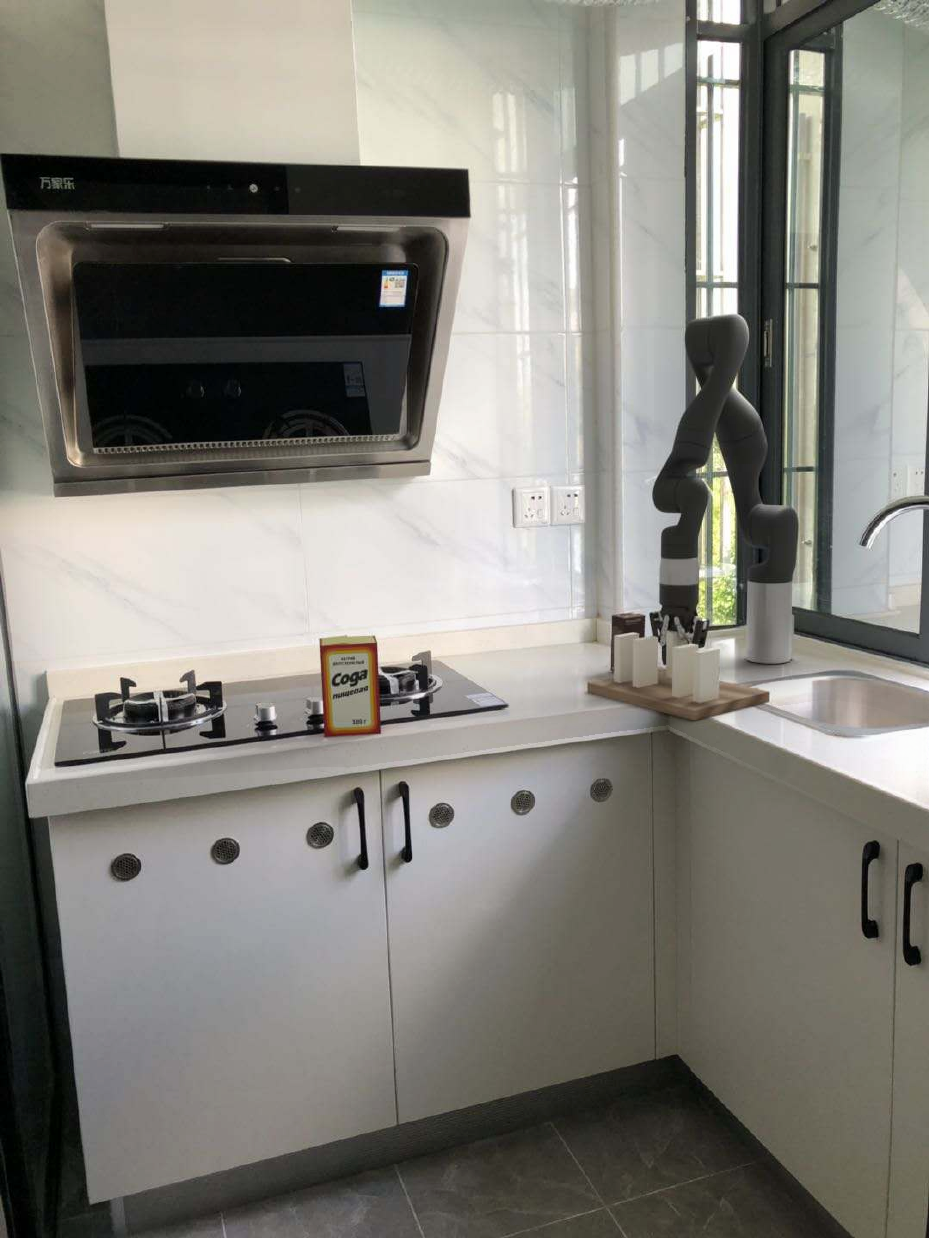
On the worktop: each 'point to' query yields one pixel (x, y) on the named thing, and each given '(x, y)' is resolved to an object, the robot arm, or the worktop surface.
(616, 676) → the domino
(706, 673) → the domino
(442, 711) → the worktop surface
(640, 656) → the domino
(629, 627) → the box
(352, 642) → the baking soda box
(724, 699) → the cutting board
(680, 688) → the domino
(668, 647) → the domino
